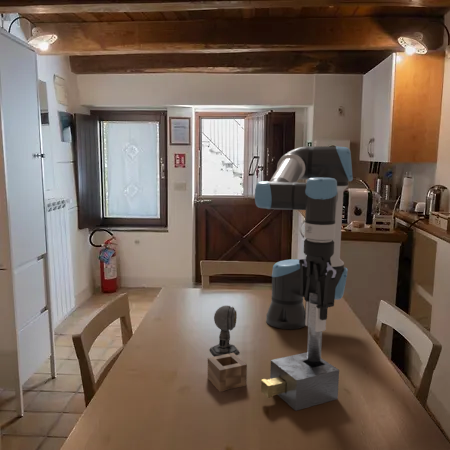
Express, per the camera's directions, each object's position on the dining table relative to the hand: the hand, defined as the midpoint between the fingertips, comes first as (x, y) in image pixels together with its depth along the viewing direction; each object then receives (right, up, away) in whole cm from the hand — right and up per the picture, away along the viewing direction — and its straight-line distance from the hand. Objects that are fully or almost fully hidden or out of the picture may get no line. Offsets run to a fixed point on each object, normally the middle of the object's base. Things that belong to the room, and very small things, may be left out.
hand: (315, 327), depth 119 cm
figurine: (-24, -14, +26) cm, 38 cm away
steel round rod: (0, -8, +1) cm, 9 cm away
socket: (-3, -18, +1) cm, 18 cm away
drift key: (-9, -16, -2) cm, 18 cm away
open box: (-23, -16, +7) cm, 29 cm away
